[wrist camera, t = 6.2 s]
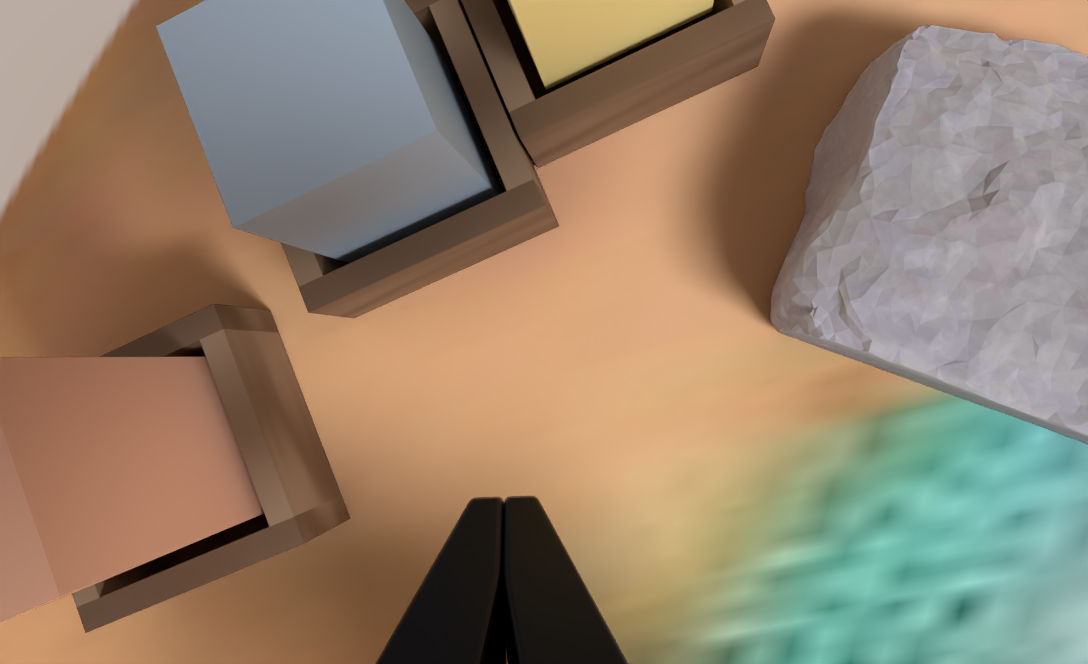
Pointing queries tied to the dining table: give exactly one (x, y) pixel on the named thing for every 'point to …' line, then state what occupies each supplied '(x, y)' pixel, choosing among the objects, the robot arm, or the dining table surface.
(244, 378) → the walnut sockets
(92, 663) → the dining table surface
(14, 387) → the tan block
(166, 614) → the dining table surface
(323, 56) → the blue-grey block
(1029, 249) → the stone block
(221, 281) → the dining table surface
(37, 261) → the dining table surface
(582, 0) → the ochre block
